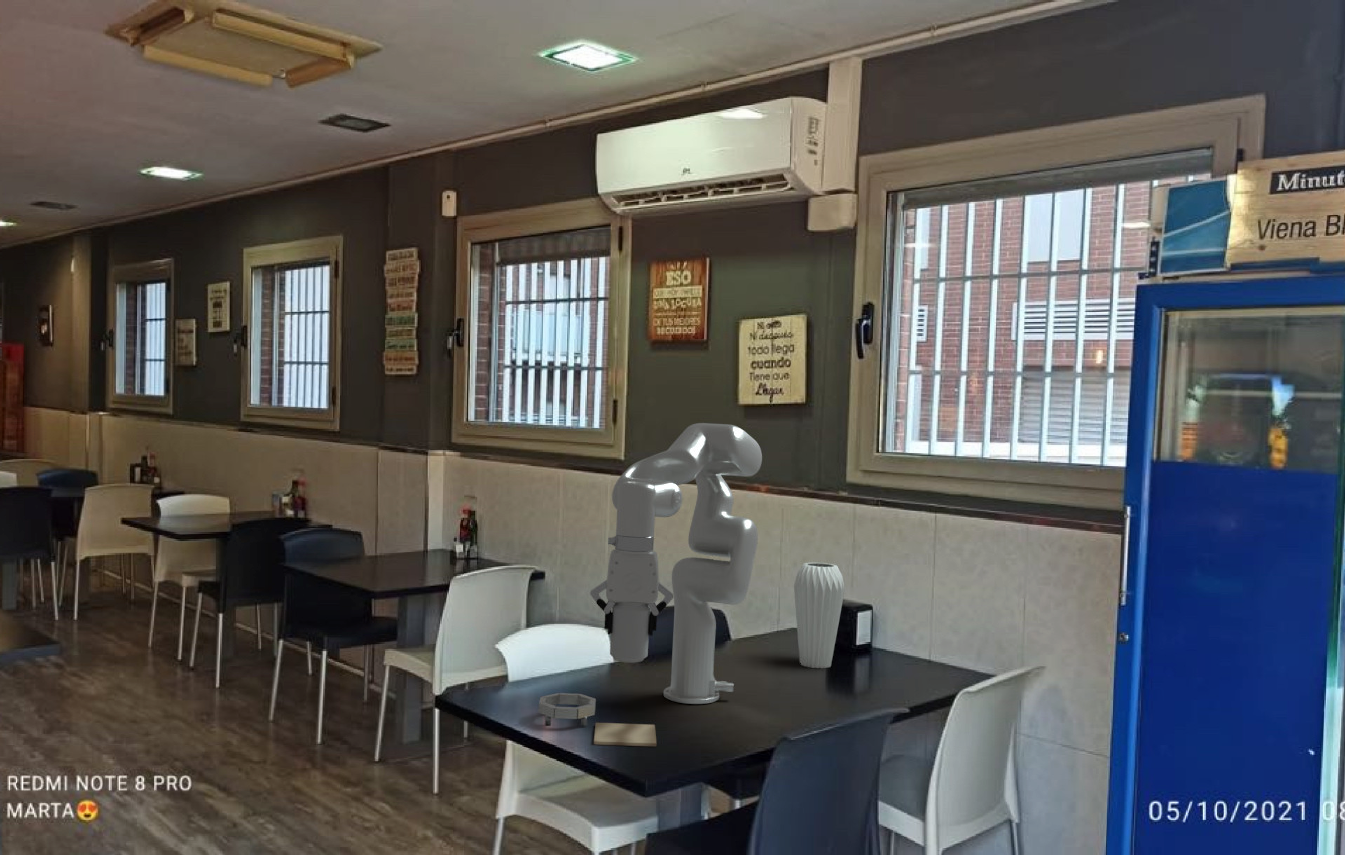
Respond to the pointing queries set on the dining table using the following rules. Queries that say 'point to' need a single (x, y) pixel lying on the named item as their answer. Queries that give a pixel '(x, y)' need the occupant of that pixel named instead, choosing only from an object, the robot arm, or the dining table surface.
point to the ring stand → (553, 711)
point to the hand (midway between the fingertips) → (630, 633)
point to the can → (630, 631)
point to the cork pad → (625, 734)
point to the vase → (818, 612)
